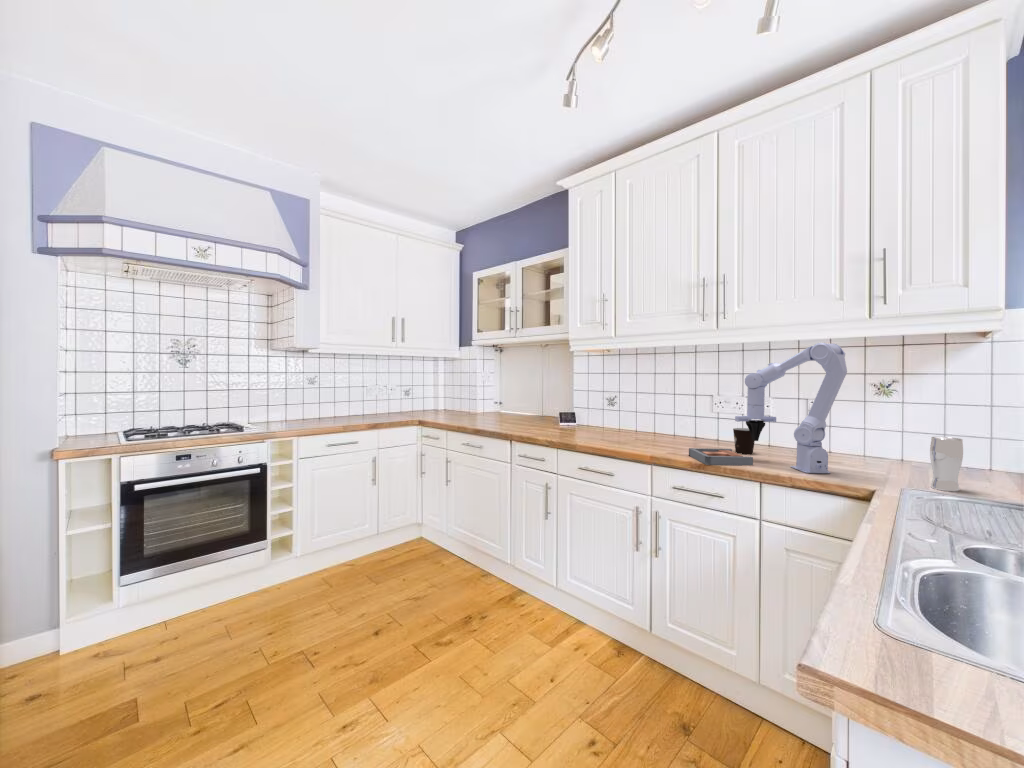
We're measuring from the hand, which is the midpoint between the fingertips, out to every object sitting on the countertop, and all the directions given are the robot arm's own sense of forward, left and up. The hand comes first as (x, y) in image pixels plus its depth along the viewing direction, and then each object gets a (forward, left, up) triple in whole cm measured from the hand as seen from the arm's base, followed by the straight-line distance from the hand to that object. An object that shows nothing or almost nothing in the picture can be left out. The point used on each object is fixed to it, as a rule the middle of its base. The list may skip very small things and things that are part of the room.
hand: (755, 440), depth 170 cm
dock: (0, +13, -8) cm, 15 cm away
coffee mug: (+18, -5, -8) cm, 20 cm away
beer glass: (-38, -36, -8) cm, 53 cm away
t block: (0, +13, -8) cm, 15 cm away
